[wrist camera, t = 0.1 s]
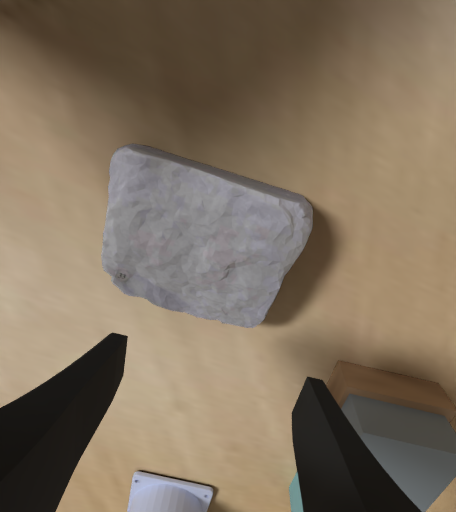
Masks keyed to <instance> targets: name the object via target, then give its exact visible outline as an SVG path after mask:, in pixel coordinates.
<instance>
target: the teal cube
mask: <svg viewBox="0 0 456 512" xmlns="http://www.w3.org/2000/svg"><path fill="white" fill-rule="evenodd" d="M289 492H290V502H291V512H303V506H302V499H301V492H300V486H299V479H298V473H296V475H295V477H294V479H293V481H292V483H291V485H290V487H289Z"/></svg>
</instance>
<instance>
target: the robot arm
mask: <svg viewBox="0 0 456 512" xmlns="http://www.w3.org/2000/svg"><path fill="white" fill-rule="evenodd" d="M127 338H128V336H125V335H121V334H116V333H111V334H109V335H108V336H107V337H105V338H104V339H103V340H102V341H101V342H99V343H98V344H97V345H96V346H94V347H93V348H92V349H91V350H89V351H88V352H87V353H86V354H84V355H83V356H82V357H80V358H79V359H78V360H76V361H75V362H73V363H72V364H71V365H69V366H68V367H67V368H65V369H64V370H62V371H61V372H59V373H58V374H56V375H55V376H53V377H52V378H50V379H49V380H48V381H46V382H45V383H43V384H41V385H40V386H38V387H37V388H35V389H33V390H32V391H30V392H28V393H27V394H25V395H23V396H21V397H20V398H18V399H16V400H14V401H13V402H11V403H9V404H7V405H5V406H3V407H1V408H0V512H55V511H56V509H57V507H58V505H59V502H60V500H61V498H62V496H63V494H64V491H65V489H66V487H67V485H68V483H69V480H70V478H71V476H72V474H73V472H74V470H75V468H76V466H77V464H78V462H79V460H80V458H81V456H82V454H83V453H84V451H85V449H86V447H87V445H88V444H89V442H90V440H91V438H92V437H93V435H94V433H95V431H96V429H97V428H98V426H99V424H100V422H101V421H102V419H103V417H104V415H105V413H106V412H107V410H108V408H109V406H110V404H111V402H112V401H113V398H114V396H115V394H116V391H117V389H118V387H119V384H120V382H121V380H122V377H123V373H124V364H125V356H126V347H127ZM292 436H293V446H294V453H295V460H296V466H297V473H298V479H299V486H300V492H301V499H302V506H303V512H422V511H421V510H420V509H419V508H418V507H417V506H416V505H415V504H414V503H413V502H412V501H411V500H410V499H409V497H408V496H407V495H406V494H405V493H404V492H403V491H402V490H401V488H400V487H399V486H398V485H397V484H396V483H395V481H394V480H393V479H392V478H391V477H390V475H389V474H388V473H387V472H386V471H385V470H384V468H383V467H382V466H381V465H380V463H379V462H378V461H377V459H376V458H375V457H374V456H373V454H372V453H371V451H370V450H369V449H368V447H367V446H366V445H365V443H364V442H363V441H362V439H361V438H360V436H359V435H358V434H357V432H356V431H355V429H354V428H353V426H352V425H351V423H350V422H349V420H348V419H347V417H346V416H345V414H344V413H343V411H342V410H341V408H340V407H339V405H338V404H337V402H336V400H335V399H334V397H333V396H332V394H331V393H330V391H329V389H328V388H327V386H326V385H325V383H324V382H323V380H320V379H316V378H311V377H307V379H306V381H305V383H304V386H303V388H302V390H301V393H300V395H299V397H298V400H297V402H296V404H295V407H294V409H293V411H292ZM212 495H213V488H211V487H209V486H205V485H200V484H195V483H191V482H186V481H181V480H177V479H172V478H168V477H163V476H158V475H154V474H149V473H145V472H140V471H136V472H135V473H134V475H133V479H132V485H131V492H130V498H129V504H128V510H127V512H207V510H208V507H209V504H210V501H211V498H212Z"/></svg>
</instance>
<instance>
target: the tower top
mask: <svg viewBox="0 0 456 512" xmlns="http://www.w3.org/2000/svg"><path fill="white" fill-rule="evenodd" d="M341 410H342V411H343V413H344V414H345V416H346V417H347V419H348V420H349V422H350V423H351V425H352V426H353V428H354V429H355V431H356V432H357V434H358V435H359V436H360V438H361V439H362V441H363V442H364V443H365V445H366V446H367V447H368V449H369V450H370V451H371V453H372V454H373V456H374V457H375V458H376V459H377V461H378V462H379V463H380V465H381V466H382V467H383V468H384V470H385V471H386V472H387V473H388V474H389V475H390V477H391V478H392V479H393V480H394V481H395V483H396V484H397V485H398V486H399V487H400V488H401V490H402V491H403V492H404V493H405V494H406V495H407V496H408V497H409V499H410V500H411V501H412V502H413V503H414V504H415V505H416V506H417V507H418V508H419V509H420V510H421V511H422V512H425V511H426V510H427V509H428V508H429V507H430V506H431V504H432V503H433V502H434V501H435V500H436V499H437V498H438V496H439V495H440V494H441V493H442V492H443V491H444V489H445V488H446V487H447V486H448V485H449V484H450V482H451V481H452V480H453V479H454V478H455V477H456V433H455V431H454V429H453V428H452V426H451V425H450V423H449V422H448V420H447V419H446V417H445V416H443V415H439V414H434V413H430V412H426V411H422V410H418V409H413V408H409V407H405V406H401V405H396V404H392V403H388V402H384V401H379V400H375V399H371V398H367V397H362V396H358V395H354V394H350V393H349V395H348V397H347V399H346V401H345V403H344V404H343V406H342V408H341Z"/></svg>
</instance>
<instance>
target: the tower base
mask: <svg viewBox="0 0 456 512" xmlns="http://www.w3.org/2000/svg"><path fill="white" fill-rule="evenodd" d="M326 386H327V388H328V389H329V391H330V393H331V394H332V396H333V397H334V399H335V400H336V402H337V404H338V405H339V407H340V408H342V406H343V404H344V403H345V401H346V399H347V397H348V395H349V393H350V394H354V395H358V396H362V397H367V398H371V399H375V400H379V401H384V402H388V403H392V404H396V405H401V406H405V407H409V408H413V409H418V410H422V411H426V412H430V413H434V414H439V415H443V416H445V417H446V419H447V420H448V422H449V423H450V422H451V421H452V419H453V418H454V417H455V415H456V408H455V406H454V405H453V403H452V402H451V400H450V399H449V398H448V396H447V395H446V393H445V392H444V390H443V389H442V388H441V386H440V385H439V383H435V382H431V381H426V380H422V379H418V378H413V377H409V376H405V375H400V374H396V373H391V372H387V371H383V370H378V369H374V368H369V367H365V366H361V365H356V364H352V363H348V362H343V361H339V360H338V362H337V364H336V366H335V368H334V371H333V373H332V375H331V377H330V379H329V381H328V383H327V385H326Z"/></svg>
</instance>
